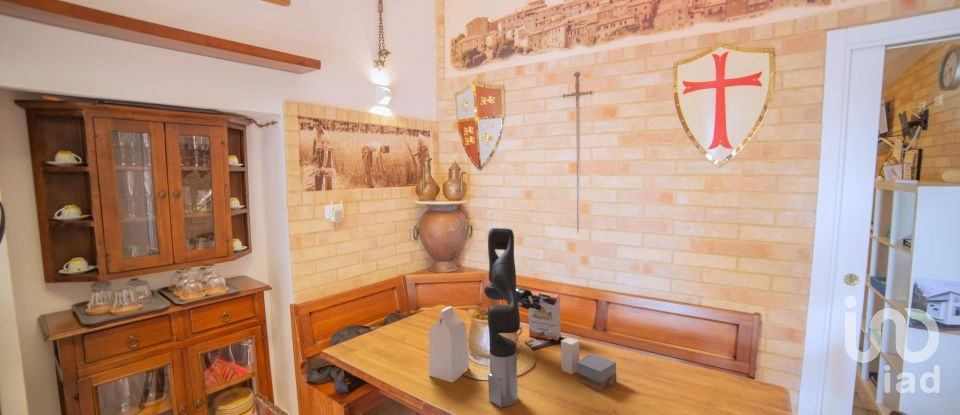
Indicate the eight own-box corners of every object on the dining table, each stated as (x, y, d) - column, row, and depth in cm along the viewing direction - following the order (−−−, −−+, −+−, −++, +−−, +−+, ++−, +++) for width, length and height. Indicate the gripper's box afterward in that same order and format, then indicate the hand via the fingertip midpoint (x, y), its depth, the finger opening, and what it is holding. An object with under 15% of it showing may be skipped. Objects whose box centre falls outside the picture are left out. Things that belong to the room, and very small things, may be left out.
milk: (446, 362, 164) (443, 302, 162) (469, 368, 158) (467, 306, 156) (428, 375, 154) (425, 311, 152) (452, 382, 148) (449, 315, 146)
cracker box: (528, 336, 187) (527, 294, 185) (533, 332, 192) (532, 290, 191) (557, 341, 181) (556, 297, 179) (561, 336, 186) (560, 293, 184)
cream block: (571, 374, 151) (571, 344, 150) (561, 369, 155) (560, 340, 154) (579, 370, 154) (579, 340, 153) (569, 365, 158) (568, 336, 157)
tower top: (600, 382, 138) (600, 371, 137) (577, 372, 145) (576, 362, 145) (616, 372, 144) (615, 362, 144) (592, 363, 152) (592, 353, 151)
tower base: (601, 393, 138) (600, 382, 138) (577, 382, 146) (577, 372, 146) (616, 382, 145) (616, 372, 144) (593, 373, 152) (593, 363, 152)
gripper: (507, 291, 169) (535, 300, 156) (530, 284, 178) (558, 292, 165) (508, 308, 169) (536, 318, 157) (530, 300, 178) (558, 309, 166)
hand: (547, 305), depth 161 cm, fingers open, 8 cm apart
